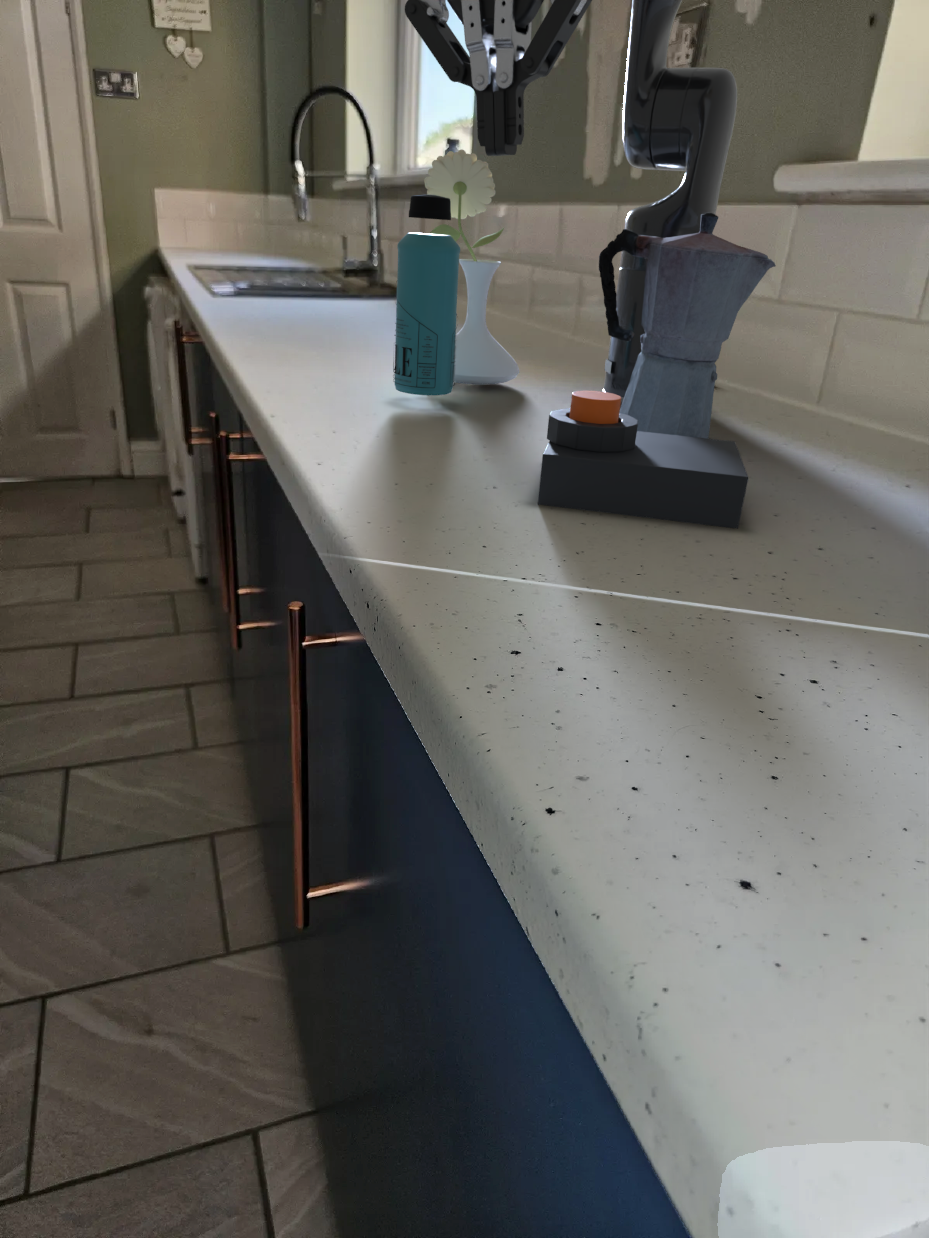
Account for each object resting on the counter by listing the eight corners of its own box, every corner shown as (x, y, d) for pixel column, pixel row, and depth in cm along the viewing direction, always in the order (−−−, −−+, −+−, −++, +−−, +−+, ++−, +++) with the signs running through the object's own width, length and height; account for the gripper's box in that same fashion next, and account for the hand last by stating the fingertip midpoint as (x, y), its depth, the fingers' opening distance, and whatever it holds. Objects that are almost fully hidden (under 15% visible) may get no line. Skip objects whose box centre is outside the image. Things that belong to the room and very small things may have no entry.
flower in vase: (529, 381, 109) (550, 157, 99) (501, 395, 100) (520, 148, 89) (434, 369, 113) (444, 152, 103) (397, 381, 103) (404, 143, 93)
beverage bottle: (464, 405, 93) (478, 198, 85) (429, 413, 88) (440, 194, 80) (415, 395, 96) (423, 195, 88) (378, 403, 91) (383, 191, 83)
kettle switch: (566, 425, 63) (570, 397, 62) (571, 415, 66) (574, 388, 66) (616, 430, 63) (620, 402, 62) (618, 420, 66) (622, 393, 65)
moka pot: (742, 459, 79) (792, 217, 70) (573, 440, 81) (601, 204, 73) (734, 437, 87) (777, 218, 79) (581, 420, 90) (607, 206, 81)
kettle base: (533, 504, 62) (541, 427, 60) (550, 466, 72) (557, 399, 70) (737, 529, 60) (754, 450, 58) (726, 486, 70) (739, 418, 68)
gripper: (619, -176, 52) (610, 150, 60) (425, -134, 58) (439, 161, 65) (579, -221, 46) (575, 148, 54) (366, -169, 52) (390, 160, 59)
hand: (500, 155), depth 60 cm, fingers closed
